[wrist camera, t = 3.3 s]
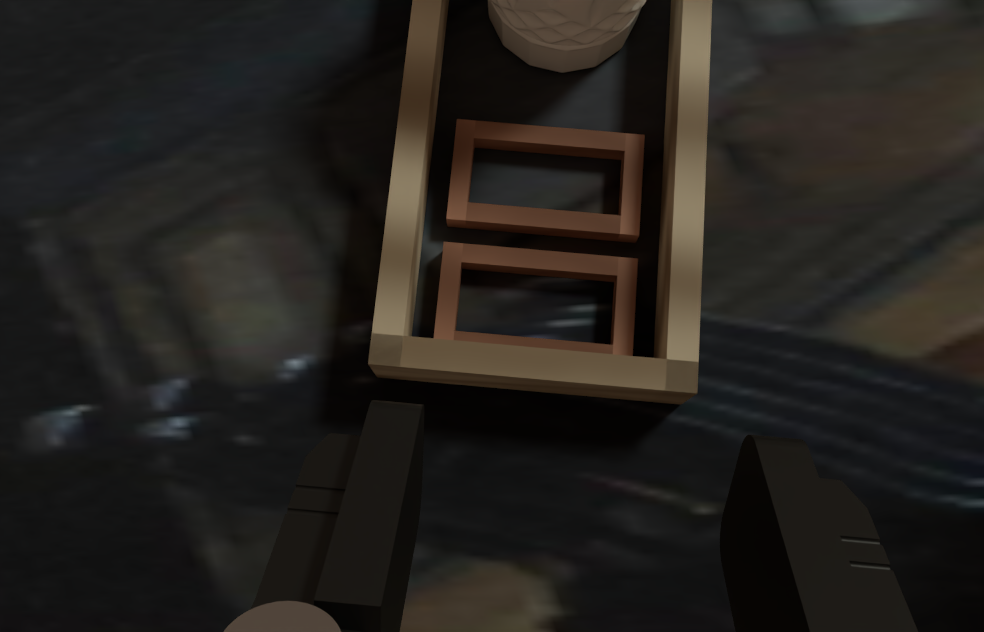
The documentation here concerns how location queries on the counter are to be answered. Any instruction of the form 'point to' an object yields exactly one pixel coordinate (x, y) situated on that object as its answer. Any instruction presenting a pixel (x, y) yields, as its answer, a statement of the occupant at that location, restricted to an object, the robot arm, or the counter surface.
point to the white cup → (564, 30)
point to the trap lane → (537, 358)
